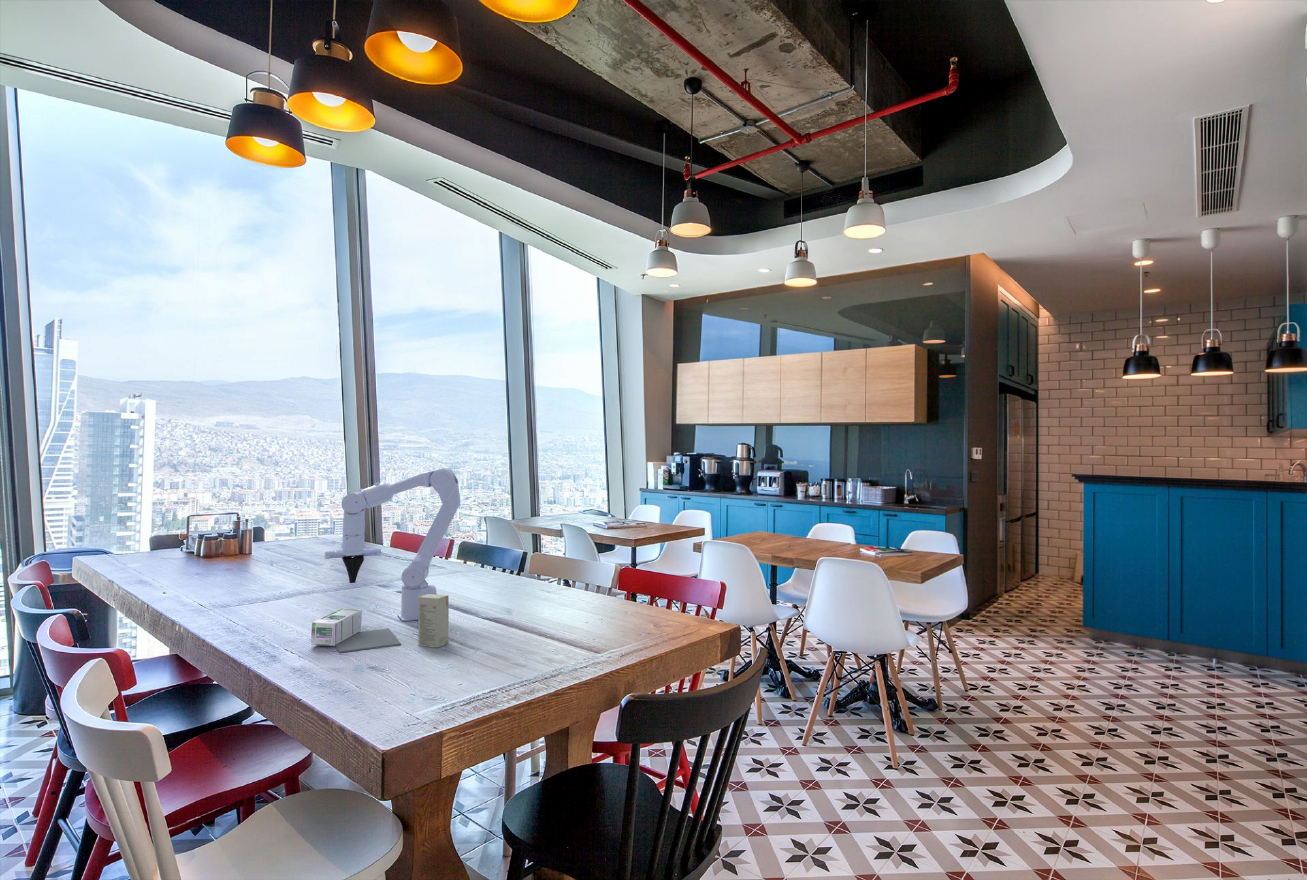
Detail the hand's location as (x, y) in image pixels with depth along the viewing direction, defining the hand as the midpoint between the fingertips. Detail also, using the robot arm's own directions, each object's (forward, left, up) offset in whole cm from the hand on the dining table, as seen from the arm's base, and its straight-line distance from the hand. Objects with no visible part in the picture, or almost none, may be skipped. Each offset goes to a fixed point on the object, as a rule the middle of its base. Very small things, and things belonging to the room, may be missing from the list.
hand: (352, 582), depth 188 cm
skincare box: (-14, +36, -11) cm, 40 cm away
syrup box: (+2, +14, -7) cm, 16 cm away
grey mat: (0, +25, -10) cm, 27 cm away
